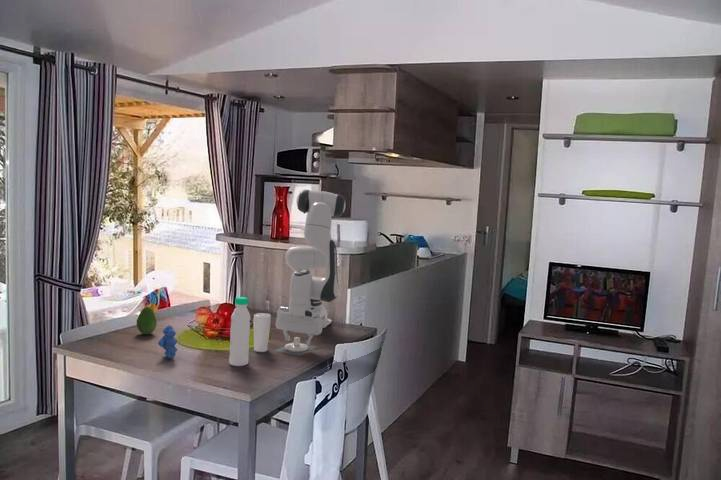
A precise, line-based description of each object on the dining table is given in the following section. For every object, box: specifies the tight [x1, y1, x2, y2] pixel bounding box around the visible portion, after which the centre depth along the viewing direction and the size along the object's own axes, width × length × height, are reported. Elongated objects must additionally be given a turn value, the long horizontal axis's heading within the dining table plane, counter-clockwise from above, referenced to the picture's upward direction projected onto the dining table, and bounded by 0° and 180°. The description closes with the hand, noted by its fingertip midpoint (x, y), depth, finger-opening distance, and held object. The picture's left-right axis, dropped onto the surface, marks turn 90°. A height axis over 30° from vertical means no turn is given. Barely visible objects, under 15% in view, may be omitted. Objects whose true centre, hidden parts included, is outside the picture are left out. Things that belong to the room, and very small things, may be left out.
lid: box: [284, 336, 308, 352], centre depth 226 cm, size 10×10×4 cm
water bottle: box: [228, 296, 251, 367], centre depth 203 cm, size 7×7×25 cm
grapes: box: [157, 324, 178, 360], centre depth 205 cm, size 12×7×12 cm, turn 35°
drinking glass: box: [252, 312, 272, 353], centre depth 221 cm, size 7×7×15 cm
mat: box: [273, 341, 318, 357], centre depth 227 cm, size 16×12×1 cm
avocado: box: [136, 306, 157, 336], centre depth 235 cm, size 8×8×12 cm
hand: (297, 342), depth 226 cm, fingers open, 8 cm apart
